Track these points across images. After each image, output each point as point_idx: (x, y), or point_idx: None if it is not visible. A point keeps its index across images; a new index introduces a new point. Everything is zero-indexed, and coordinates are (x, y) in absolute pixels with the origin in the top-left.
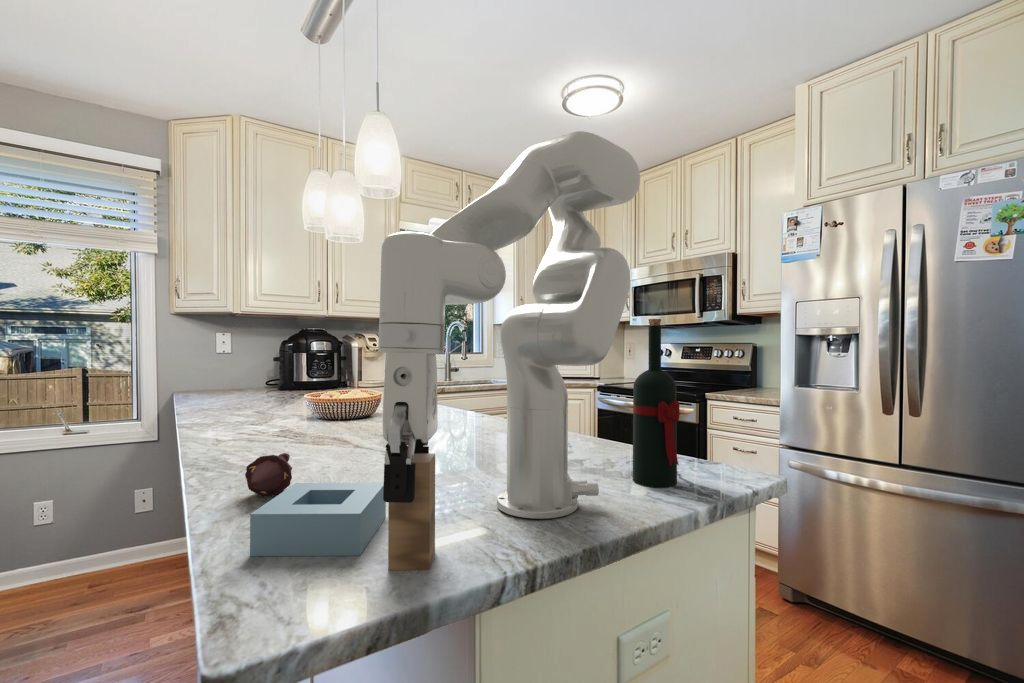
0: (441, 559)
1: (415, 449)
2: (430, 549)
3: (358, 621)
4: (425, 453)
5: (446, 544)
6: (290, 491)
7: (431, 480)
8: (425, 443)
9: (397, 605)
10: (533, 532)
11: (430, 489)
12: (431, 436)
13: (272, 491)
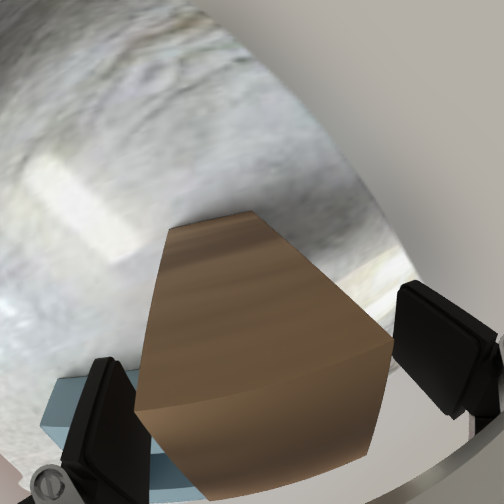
0: (200, 202)
1: (122, 485)
2: (245, 221)
3: (398, 253)
4: (98, 443)
5: (123, 219)
6: (161, 499)
7: (281, 300)
8: (76, 485)
9: (368, 220)
10: (39, 57)
11: (301, 278)
12: (491, 452)
13: None
